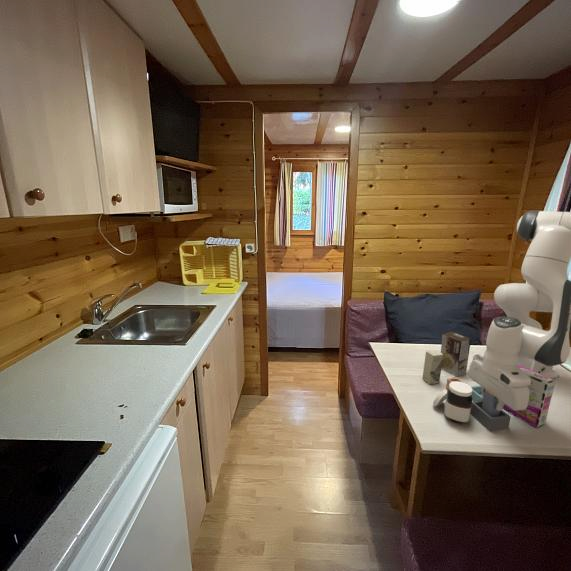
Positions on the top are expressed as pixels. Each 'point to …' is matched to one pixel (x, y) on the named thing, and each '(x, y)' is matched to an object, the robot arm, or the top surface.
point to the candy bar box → (535, 399)
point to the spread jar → (456, 401)
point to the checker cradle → (489, 417)
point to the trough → (476, 393)
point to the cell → (490, 404)
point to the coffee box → (455, 353)
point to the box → (432, 366)
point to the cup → (452, 381)
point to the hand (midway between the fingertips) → (491, 404)
